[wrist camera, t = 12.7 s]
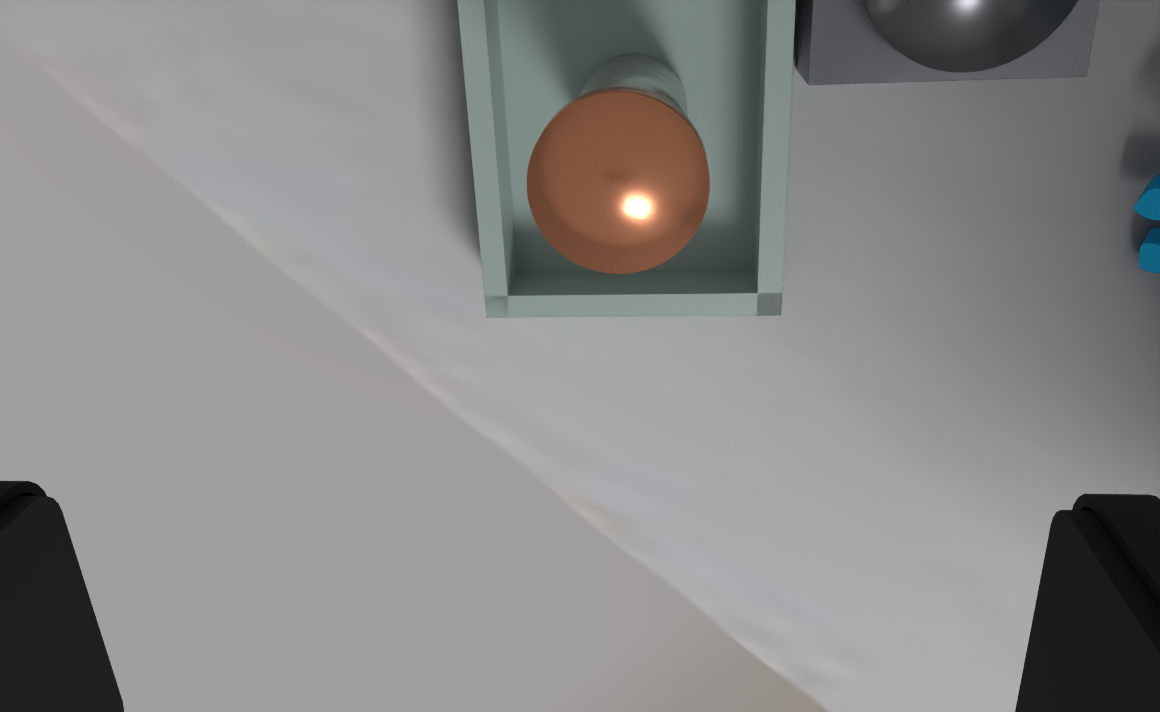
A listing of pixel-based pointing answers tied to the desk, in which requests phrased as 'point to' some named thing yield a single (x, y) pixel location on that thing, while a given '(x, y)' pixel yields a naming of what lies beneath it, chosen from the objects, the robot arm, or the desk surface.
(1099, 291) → the desk surface
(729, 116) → the tray
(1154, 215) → the gear
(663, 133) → the pin
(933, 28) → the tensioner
